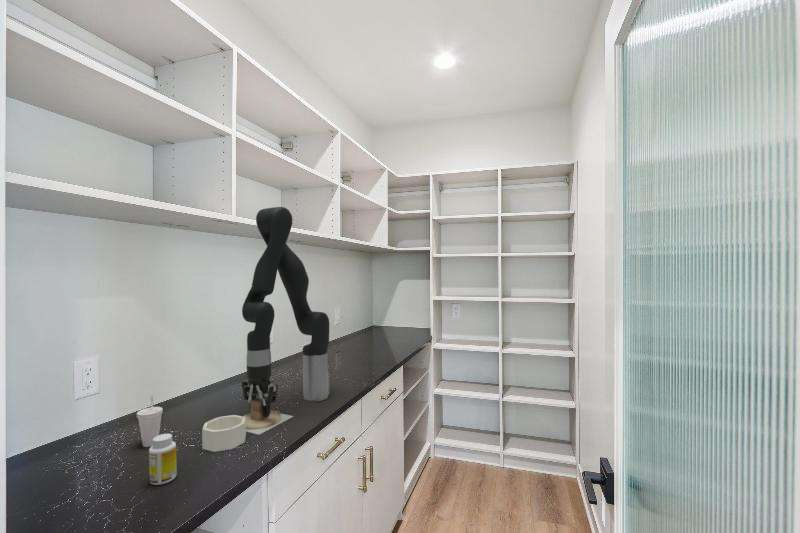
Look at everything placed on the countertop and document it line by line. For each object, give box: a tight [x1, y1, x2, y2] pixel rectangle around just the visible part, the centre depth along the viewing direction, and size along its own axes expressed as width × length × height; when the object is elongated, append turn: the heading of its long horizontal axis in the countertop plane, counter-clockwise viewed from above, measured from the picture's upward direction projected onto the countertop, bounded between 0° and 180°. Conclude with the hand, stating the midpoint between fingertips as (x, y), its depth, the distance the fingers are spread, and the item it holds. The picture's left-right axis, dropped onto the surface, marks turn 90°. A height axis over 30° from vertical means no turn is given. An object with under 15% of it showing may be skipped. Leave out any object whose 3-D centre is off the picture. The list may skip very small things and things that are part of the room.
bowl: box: [201, 414, 247, 453], centre depth 109 cm, size 11×11×6 cm
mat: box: [246, 412, 294, 436], centre depth 123 cm, size 15×15×1 cm
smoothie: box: [136, 394, 164, 448], centre depth 109 cm, size 6×6×14 cm
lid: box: [241, 396, 282, 430], centre depth 123 cm, size 13×13×7 cm
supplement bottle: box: [148, 433, 178, 486], centre depth 91 cm, size 6×6×10 cm
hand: (259, 414), depth 123 cm, fingers open, 5 cm apart
